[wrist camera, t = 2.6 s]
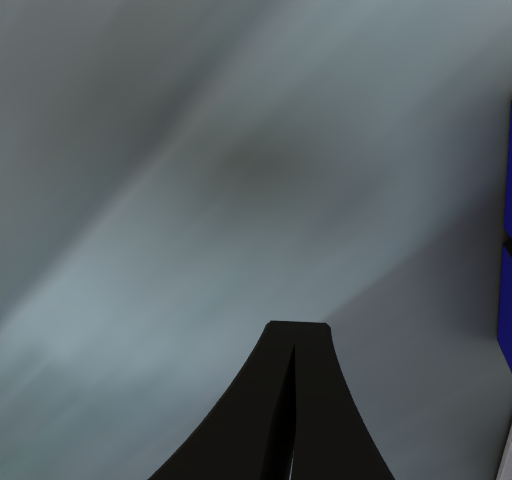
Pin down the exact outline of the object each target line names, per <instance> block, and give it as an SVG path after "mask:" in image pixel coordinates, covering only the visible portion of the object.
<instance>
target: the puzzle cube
mask: <svg viewBox="0 0 512 480" xmlns="http://www.w3.org/2000/svg"><path fill="white" fill-rule="evenodd" d="M504 228H505V230H506V231H507V233H508V234H509V236H510V238H509V239H508V240H506V241H505V242H504V243H503V251H502V268H501V285H500V302H499V319H498V336H497V341H498V343H499V345H500V347H501V350H502V352H503V354H504V356H505V359H506V361H507V363H508V366H509V368H510V370H511V372H512V101H511V118H510V135H509V152H508V169H507V185H506V202H505V219H504Z"/></svg>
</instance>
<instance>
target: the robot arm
mask: <svg viewBox="0 0 512 480" xmlns="http://www.w3.org/2000/svg"><path fill="white" fill-rule="evenodd" d="M293 452H294V455H293ZM292 458H293V464H292ZM291 464H292V474H291V480H395V478H394V477H393V475H392V473H391V472H390V470H389V468H388V467H387V465H386V463H385V461H384V460H383V458H382V456H381V455H380V453H379V451H378V449H377V447H376V445H375V444H374V442H373V440H372V438H371V436H370V434H369V432H368V430H367V428H366V426H365V424H364V422H363V420H362V418H361V416H360V414H359V412H358V410H357V407H356V405H355V403H354V401H353V398H352V396H351V394H350V391H349V389H348V386H347V384H346V381H345V379H344V376H343V374H342V371H341V368H340V365H339V362H338V359H337V356H336V353H335V349H334V345H333V341H332V335H331V327H330V326H329V325H328V324H326V323H316V322H294V321H270V322H269V323H268V324H266V326H265V329H264V331H263V333H262V335H261V337H260V338H259V340H258V342H257V344H256V346H255V347H254V349H253V351H252V352H251V354H250V356H249V357H248V359H247V361H246V362H245V364H244V365H243V367H242V368H241V370H240V371H239V373H238V374H237V376H236V377H235V378H234V380H233V381H232V383H231V384H230V386H229V387H228V389H227V390H226V391H225V393H224V394H223V395H222V397H221V398H220V399H219V401H218V402H217V403H216V404H215V406H214V407H213V408H212V410H211V411H210V412H209V413H208V415H207V416H206V417H205V419H204V420H203V421H202V422H201V423H200V425H199V426H198V427H197V428H196V429H195V430H194V432H193V433H192V434H191V435H190V436H189V437H188V438H187V440H186V441H185V442H184V443H183V444H182V445H181V446H180V447H179V448H178V449H177V450H176V452H175V453H174V454H173V455H172V456H171V457H170V458H169V459H168V460H167V461H166V462H165V463H164V464H163V465H162V466H161V467H160V468H159V469H158V470H157V471H156V472H155V473H154V474H153V475H152V476H151V477H150V478H149V479H148V480H289V476H290V470H291ZM496 480H512V425H511V429H510V432H509V436H508V439H507V443H506V446H505V450H504V453H503V457H502V461H501V464H500V468H499V471H498V475H497V478H496Z"/></svg>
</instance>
